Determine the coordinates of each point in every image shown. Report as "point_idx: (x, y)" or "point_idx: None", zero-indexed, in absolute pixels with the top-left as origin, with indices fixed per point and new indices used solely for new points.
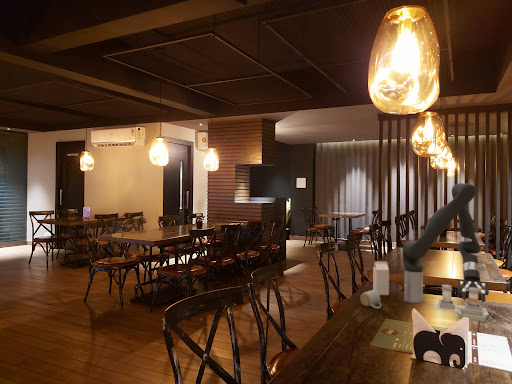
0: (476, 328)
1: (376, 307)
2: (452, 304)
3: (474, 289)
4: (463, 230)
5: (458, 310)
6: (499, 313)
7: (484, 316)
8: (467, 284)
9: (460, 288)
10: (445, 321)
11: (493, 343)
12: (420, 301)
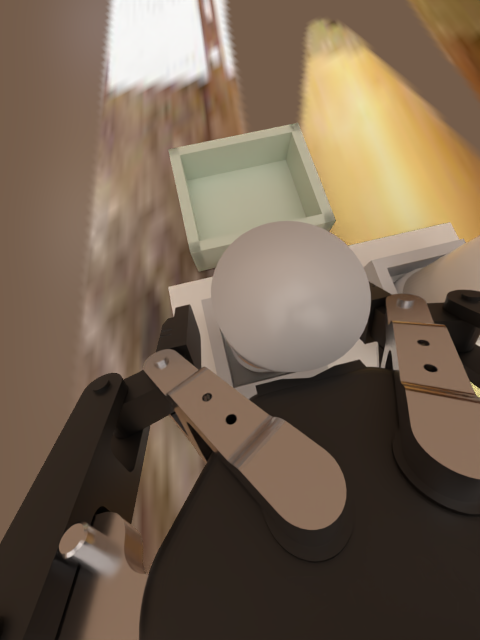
0: (212, 108)
1: None
2: (385, 257)
3: (263, 226)
4: None
5: (319, 178)
6: None
7: (179, 155)
8: (446, 375)
9: (466, 307)
10: (337, 115)
11: (149, 17)
12: None
